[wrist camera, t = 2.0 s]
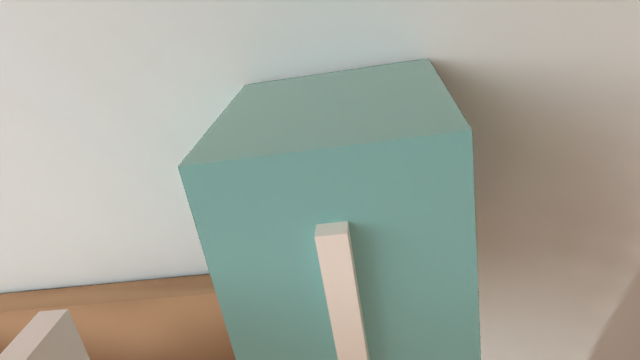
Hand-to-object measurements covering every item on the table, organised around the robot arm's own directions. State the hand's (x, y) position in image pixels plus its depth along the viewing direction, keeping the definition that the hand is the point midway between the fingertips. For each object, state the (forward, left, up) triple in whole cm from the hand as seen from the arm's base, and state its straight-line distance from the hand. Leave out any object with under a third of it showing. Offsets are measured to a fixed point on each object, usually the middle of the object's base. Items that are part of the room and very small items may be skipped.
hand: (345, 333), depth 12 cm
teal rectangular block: (0, 0, -10) cm, 10 cm away
